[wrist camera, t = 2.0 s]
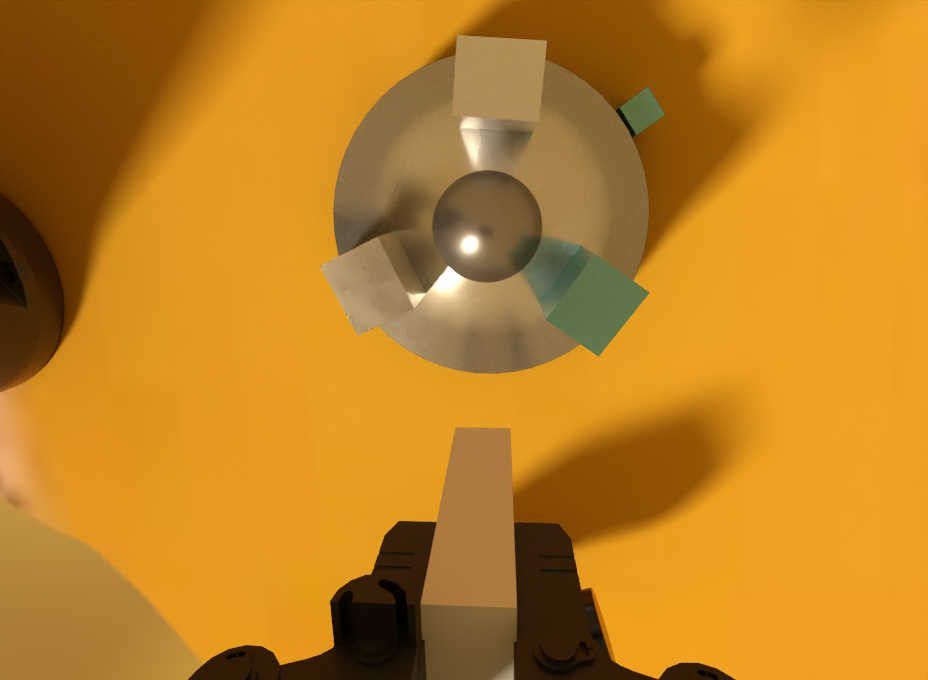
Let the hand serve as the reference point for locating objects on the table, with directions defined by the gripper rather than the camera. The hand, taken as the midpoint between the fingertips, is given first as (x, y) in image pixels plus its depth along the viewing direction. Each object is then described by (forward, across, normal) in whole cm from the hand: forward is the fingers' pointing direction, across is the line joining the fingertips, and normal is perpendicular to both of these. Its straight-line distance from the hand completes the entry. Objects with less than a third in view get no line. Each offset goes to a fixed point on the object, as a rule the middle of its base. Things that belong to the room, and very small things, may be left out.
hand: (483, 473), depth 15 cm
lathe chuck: (+16, 0, +6) cm, 17 cm away
